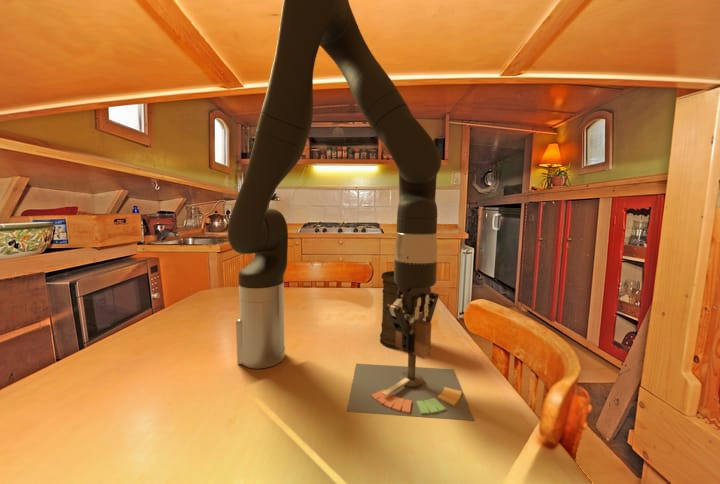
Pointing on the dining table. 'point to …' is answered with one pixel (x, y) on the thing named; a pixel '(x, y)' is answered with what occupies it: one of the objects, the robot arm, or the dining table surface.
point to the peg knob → (413, 356)
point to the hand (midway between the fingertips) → (412, 349)
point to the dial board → (408, 393)
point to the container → (388, 298)
